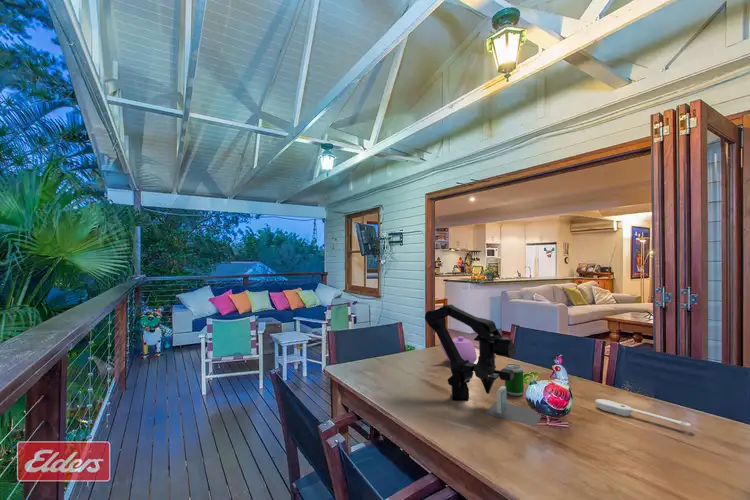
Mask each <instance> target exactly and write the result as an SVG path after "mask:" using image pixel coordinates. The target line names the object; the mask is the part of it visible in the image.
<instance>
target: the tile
mask: <svg viewBox="0 0 750 500" xmlns="http://www.w3.org/2000/svg"><path fill="white" fill-rule="evenodd" d="M507 394H508V393H507V392H506V386H505V385H502V386H500V387H499V388H498V389H497V390H496V401H497V413H500V414H501V413H502V412H503V411H504V410H505V408H506V407H507V404H508V401H507Z"/></svg>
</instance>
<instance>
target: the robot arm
mask: <svg viewBox="0 0 750 500" xmlns="http://www.w3.org/2000/svg"><path fill="white" fill-rule="evenodd" d="M448 316H449V317H451V318H452V319H454V320H456V321H459V322H460V323H463V324H464V325H467V326H468V327H469V328H471V329H472V331H473V332H474V333H475V334H477V336H476V337H475V338H474V339H473V340H474V341H476V342H478V344H479V345H478V347H479V349H478V350H479V353H478V354H479V356H478V357H477V360H478V361H477V362H476V363H475V362H474V363H469V361H468V360H466V361H465V360H463V359H462V358H461V356H460V354H459V352H458V350H457V348H456V346H455V344H454V342H453V340H452V339H453V338H452V336H451V335H450V333H449V331H448V329H447V326H446V325H447V324H446V322H447V320H446V318H447V317H448ZM424 320H425V321H426V323H427V325H428V326H429V328H431V329H432V330H434V332H435V333H436V335H437V337H438V340H439V341H440V342H439V343H441V344H442V346H443V348H444V350H445V352H446V354H447V356H448V358H449V360H450V361H449V360H448V361H449V363H450V362H451V363H450V371H451V376H449V378H447V383H448V385H449V386H450V387H451V388H450V389H451V390H450V391H451V394H450V397H451V401H455V402H468V401H469V398H470V389H469V386H468V383H470V382H471V379H473V377H474V375H475V377H477V378H478V379H479V380H481V384H482V385H483V387H484V390H485V393H486V394H487V395H489V394H490V392H491V390H492V387H493V384H494V382H495V381H496V380H497V379H500V380H501V381H505V380H506V381H511V380H512V379H513V378H514V372H513V370H510V369H505V367H504V368H502V369H501V370H498V369H497V365H496V356H499V357H504V358H508V359H513V358H514V357H515V355H516V347H515V344H514V342H513V339H512V338H504V337H503V335H502V334H501V333H500V331H499V329H498V328H497V326H496V323H495V322H494V321H493V320H490V319H487V318H482V317H477V316H475V315H473V314H470V313H469V312H466V311H464V310H462V309H460V308H458V307H456V306H454V305H453V304H444V305H443V306H441V307H439V308H437V309H433V310H432V309H431V310H427V312H426V313H425V315H424ZM491 335H492V336H491ZM447 356H446V357H447ZM448 358H447V359H448Z"/></svg>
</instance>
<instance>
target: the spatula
mask: <svg viewBox="0 0 750 500" xmlns="http://www.w3.org/2000/svg"><path fill="white" fill-rule="evenodd" d="M594 403H595V406H596V407H597V408H598V409H600V410H601V411H604V412H605V411H606V412H609V413H613V414H616V415H618V416H622V417H630V416H631V415H632V412H635V413H639V414H642V415H647V416H650V417H653V418H658V419H661V420H664V421H668V422H670V423H675V424H678V425H680V426H683V427H692V424H691V423H689V422H686V421H684V420H683V421H682V420H678V419H673V418H670V417H666V416H662V415H658V414H655V413H651V412H648V411H644V410H640V409H638V408H637V409H636V408H633V407H630V406H629V405H627V404H625V403H620V402H616V401H613V400H608V399H604V398H598V399H595V401H594Z"/></svg>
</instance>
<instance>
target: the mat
mask: <svg viewBox="0 0 750 500" xmlns="http://www.w3.org/2000/svg"><path fill="white" fill-rule="evenodd" d="M532 409H533V408H529V407H524V406H519V405H517V404H516V405H515V404H511V403H507V407H506V408H505V410H504V411H503V412H502V413H501V414H500V413H497V400H495V402H494V403H492V404H491V406H489V408H488V409H487V410H485V412H484V414H485V415H488V416H493V417H496V418H497V417H498V418H501V419H504V420H509V421H513V422H517V423H521V424H525V425H528V426H529V425H530V426H532V427H536V426H537V425H538V424H539V422H540V420H541V418H542V416H543V415H542V416H541V415H539V414H537V413H536V412H535V411H533V410H532Z"/></svg>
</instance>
